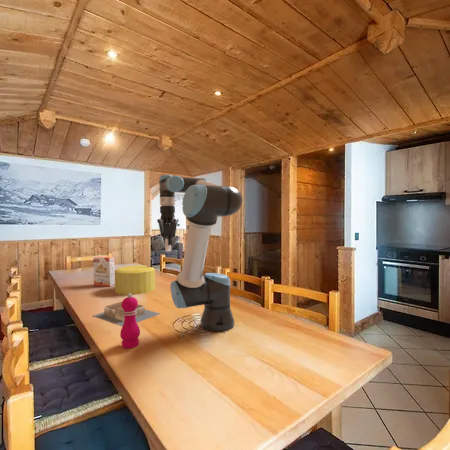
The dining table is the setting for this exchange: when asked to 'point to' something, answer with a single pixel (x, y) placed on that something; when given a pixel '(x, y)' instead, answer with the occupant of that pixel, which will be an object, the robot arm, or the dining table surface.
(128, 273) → the cheese
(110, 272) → the cracker box
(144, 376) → the dining table surface
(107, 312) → the brown wooden block
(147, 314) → the mat
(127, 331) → the pepper mill
